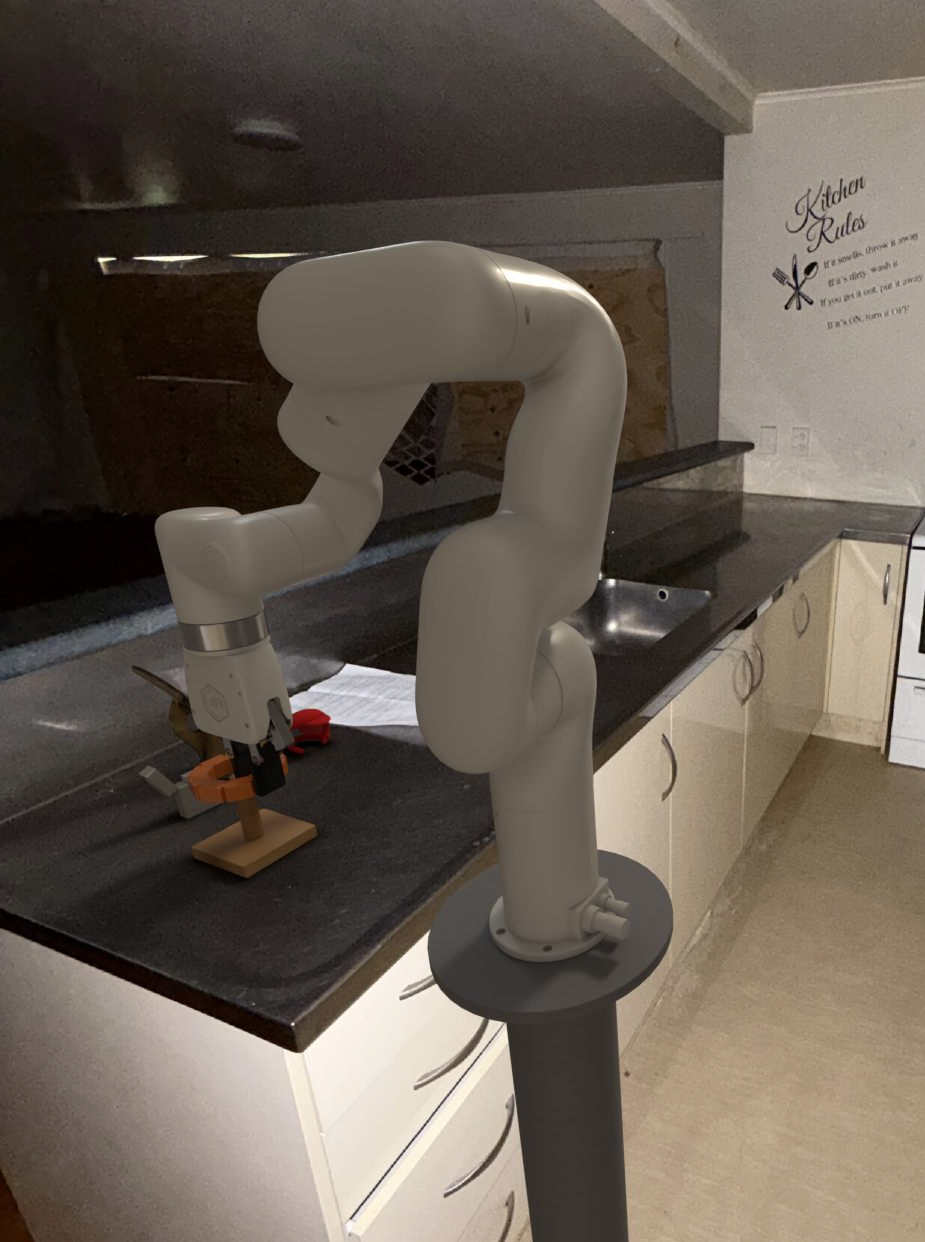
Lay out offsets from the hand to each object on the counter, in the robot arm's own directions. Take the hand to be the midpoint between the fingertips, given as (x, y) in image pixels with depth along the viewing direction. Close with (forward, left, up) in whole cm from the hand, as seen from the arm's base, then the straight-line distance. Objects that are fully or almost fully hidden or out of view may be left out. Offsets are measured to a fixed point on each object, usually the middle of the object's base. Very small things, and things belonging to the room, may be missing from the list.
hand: (262, 786), depth 83 cm
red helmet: (+20, -20, -9) cm, 29 cm away
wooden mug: (+25, -10, -9) cm, 28 cm away
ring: (+3, 0, 0) cm, 4 cm away
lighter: (+18, -1, -9) cm, 20 cm away
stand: (+4, 0, -9) cm, 10 cm away
